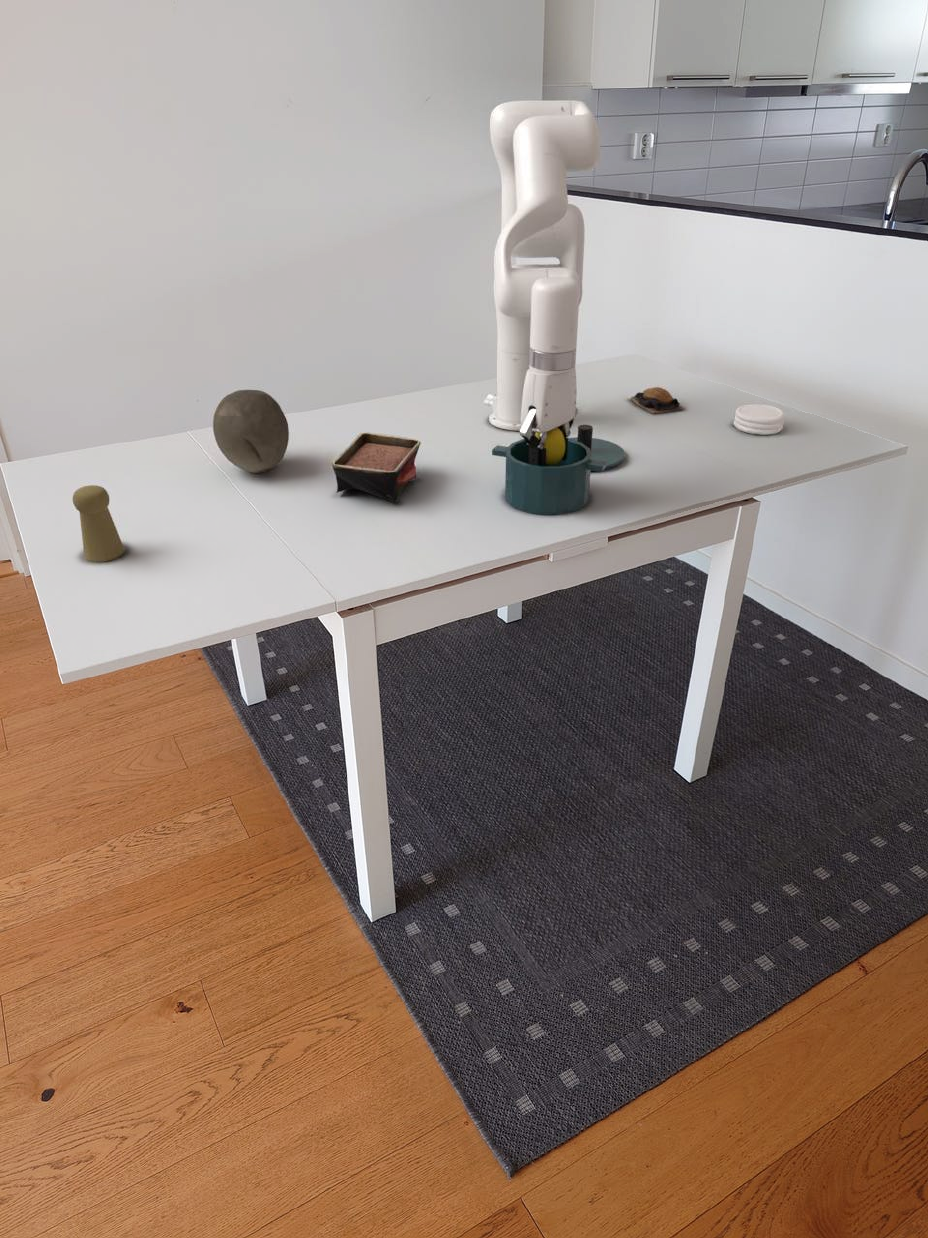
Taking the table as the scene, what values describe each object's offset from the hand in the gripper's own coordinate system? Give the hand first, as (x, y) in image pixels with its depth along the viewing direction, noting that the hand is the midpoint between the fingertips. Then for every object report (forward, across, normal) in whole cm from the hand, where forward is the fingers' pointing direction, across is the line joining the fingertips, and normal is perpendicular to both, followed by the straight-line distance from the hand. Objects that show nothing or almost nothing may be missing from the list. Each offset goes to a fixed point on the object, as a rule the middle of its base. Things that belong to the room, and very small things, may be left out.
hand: (547, 462), depth 154 cm
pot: (+7, 0, 0) cm, 7 cm away
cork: (+7, +62, -41) cm, 75 cm away
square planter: (+7, +16, -26) cm, 31 cm away
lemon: (+1, 0, 0) cm, 1 cm away
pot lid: (+6, -20, -6) cm, 22 cm away
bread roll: (+7, -56, -11) cm, 57 cm away
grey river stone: (+7, +25, -50) cm, 56 cm away
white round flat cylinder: (+7, -57, +13) cm, 59 cm away
